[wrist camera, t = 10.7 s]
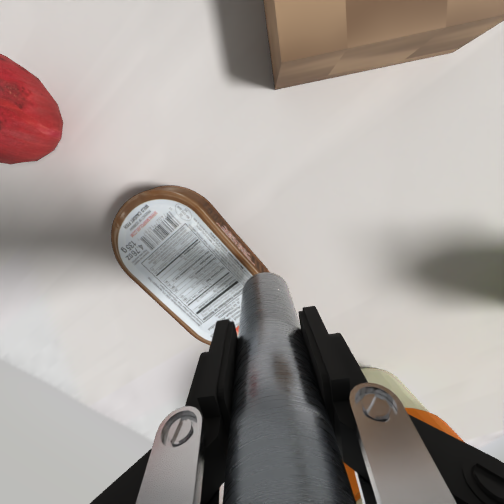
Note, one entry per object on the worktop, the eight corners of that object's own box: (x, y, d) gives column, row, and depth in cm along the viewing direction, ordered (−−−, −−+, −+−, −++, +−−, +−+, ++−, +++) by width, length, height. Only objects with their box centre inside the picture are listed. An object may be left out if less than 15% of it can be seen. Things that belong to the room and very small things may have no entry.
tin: (174, 162, 18) (108, 230, 20) (156, 161, 15) (80, 241, 17) (294, 297, 21) (226, 342, 23) (299, 318, 18) (221, 368, 20)
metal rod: (238, 276, 15) (84, 1315, 1) (285, 268, 14) (678, 1377, 1) (246, 317, 16) (208, 1168, 2) (291, 310, 15) (546, 1194, 2)
